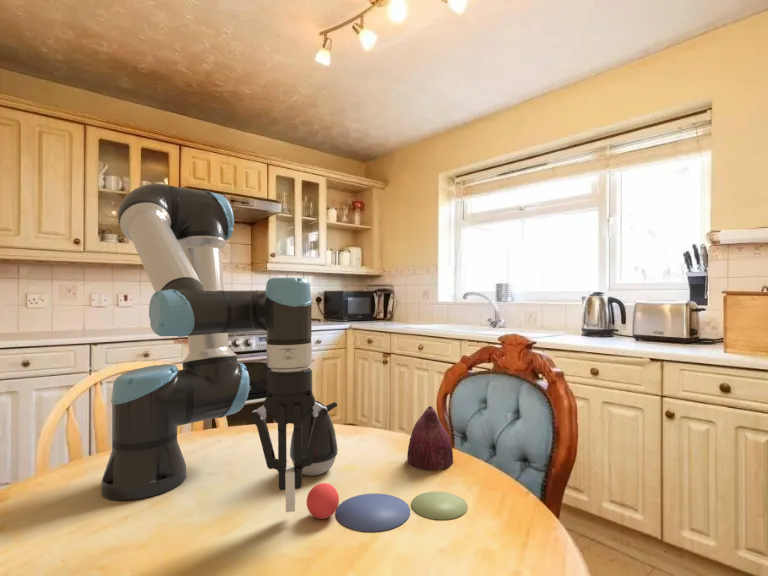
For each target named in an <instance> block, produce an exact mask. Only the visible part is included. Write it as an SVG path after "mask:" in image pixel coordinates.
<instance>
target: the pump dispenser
mask: <svg viewBox="0 0 768 576" xmlns="http://www.w3.org/2000/svg"><path fill="white" fill-rule="evenodd" d="M315 402H317V403H318V404H320V405H322V406H323V405H324V403H323V402H321V401H319V400H316V399H315ZM325 406H326V407H327V415H326V416H325V418H324V420H323V421H322V423H321V427H320V431H319V436H318V440H317V444H316V449H315V453H314V458H313V462H312V465H311V466H306V467H304V468H303V469H302V475H304V476H309V477H310V476H314V477H315V476H319V475H323V474H325V473H326V472H328V471H329V470H330V469H331V468H332V467H333V465H334V463H335V460H336V456H337V455H338V443H337V442H338V441H337V437H336V430H335V426H334V424H333V421H332V418H331V415H330V413H329V412H331V411H332V410H333V409H335V408H336V407H338V402H336V401H334V402H331V403H330V404H326V405H325ZM313 411H314V410H313V408H312V409H311V411H310V412H309V413H308V415H307V416H306V418H305V419H304V420H303V421H302V457H305V456H306V452H307V448H308V444H309V439H310V435H311V430H312V426H313V422H314V418H315V417H314V416H313ZM289 446H290V447H289V457H290V459H291V463H292V466H294V428H293V429H292V434H291V440H290V445H289Z"/></svg>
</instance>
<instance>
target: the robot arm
mask: <svg viewBox="0 0 768 576" xmlns="http://www.w3.org/2000/svg"><path fill="white" fill-rule="evenodd" d="M116 215H117V221H118V225H119V228H120V230H121V233H122V234H123V235H124V237H126V238H127V239H128V240H129V241H131V242H132V244H133V245H134V248H135V250H136V252H137V254H138V257H139V259H140V261H141V264H142V266H143V268H144V270H145V272H146V275H147V277H148V279H149V281H150V284H151V286H152V289H153V290H154V293H153V294H152V296H151V298H150V301H149V304H148V305H149V306H148V317H149V322H150V324H149V325H150V327H151V330H152V332H153V333H154V334H156V335H157V336H159V337H178V338H181V337H183V338H184V337H187V343H188V354H187V355H186V356H185V358H184V359H183V360H182V369H179V368H178V367H177V365H176V364H172V363H170V364H169V363H166V364H165V363H164V364H159V365H158V364H157V365H156V364H155V365H149V366H144V367H140V368H136V369H133V370H130V371H127V372H124V373H122V374H120V375H119V376H117V377H116V378H115V379H114V382H113V384H112V392H111V393H112V394H111V399H110V404H111V424H112V425H111V436H112V437H111V440H112V442H111V453H110V456H109V459H108V462H107V465H106V466H105V470H104V473H103V476H102V479H101V493H100V494H101V496H103V497H104V498H106V499H108V500H112V501H113V500H114V501H133V500H139V499H141V500H142V499H146V498H150V497H153V496H157V495H161V494H164V493H167V492H168V491H171V490H173V489H175V488H177V487H179V486H180V485H181V484H182V483H184V482H185V480H186V479H187V463H186V461H185V458H184V456H183V453H182V450H181V448H180V445H179V442H178V427H179V426H184V425H188V424H193V423H198V422H203V421H207V420H212V419H213V420H214V419H219V418H220V419H222V418H224V417H226V416H230V415H235V414H237V413H238V412H240V411H241V410H242V409H243V408H244V406H245V404H246V402H247V399H248V397H249V392H250V375H249V371H248V370H247V367H246V365H245V364H244V363H242V362H240V361H238V354H236V353H235V352H234V351H232V350H231V348H230V343H229V334H230V333H231V334H232V333H245V332H246V333H247V332H248V333H249V332H266V333H265V334H266V367H267V368H269V370H268V371H267V372H266V397H265V399H264V401H263V405H261V406H259V407H258V408H255V409H253V410H252V412H251V413H250V419H251V421H252V422H253V424H255V426H256V428H257V433H258V436H259V440H260V443H261V448H262V451H263V456H264V459H265V462H266V463H265V464H266V467H267V469H269V470H276V471H277V473H278V490H279V491H285V513H290V512H291V513H292V512H293V513H294V512H296V490H300V489H302V486H303V474H302V469H303V468H304V467H306V466H311V465H312V462H313V458H314V453H315V449H316V444H317V440H318V436H319V431H320V427H321V423H322V421H323V420H324V418H325V416H326V415H327V407H326V406H327V405H324V404H323V406H322V405H320V404H318V403H317V402H315V400H316V399H315V396H314V394H313V370H312V369H311V368H310V366H311V365H312V364H313V358H312V356H313V353H312V352H313V351H312V350H313V349H312V348H313V347H312V346H313V345H312V343H313V342H312V304H313V299H312V295H311V292H312V291H311V282H310V280H309V279H307V278H304V277H271V278H269V279H268V280H267V281H266V285H265V286H266V287H265V290H257V289H254V290H251V289H250V290H225V288H224V278H223V277H224V276H223V275H224V274H223V268H222V267H223V266H222V265H223V264H222V254H221V251H222V250H223V249H224V248H225V246H226V245H227V241H228V240H229V239H230V238H232V235H233V232H234V227H233V226H234V225H235V217H234V211H233V208H232V206H231V204H230V202H229V200H228V199H227V198H226V197H225V196H224V195H222V194H220V193H215V192H211V190H210V191H209V190H203V189H202V190H200V189H193V188H187V187H181V186H174V185H168V184H162V183H149V184H144V185H142V186H138V187H137V188H134V189H133V190H132V191H130V192H129V193H127V194H126V196H124V198H123V199H122V200H121V202H120V204H119V206H118V209H117V214H116ZM312 408H313V410H314V411H313V416H314V417H315V418H314V422H313V426H312V430H311V435H310V439H309V444H308V448H307V452H306V456H305V457H302V421H303V420H304V419H305V418H306V416H307V415H308V413H309V412H310V411H311V409H312ZM267 414H269V415H270V417H271V418H272V419H273V420H274V422H276V424H277V448H278V449H277V458H276V455H275V451H274V446H273V443H272V439H271V435H270V432H269V426H268V425H267V420H266V419H267V417H268V416H267ZM289 424H292V425H293V429H294V465H287V463H288V460H287V456H288V455H287V451H288V450H287V449H288V448H287V425H289Z"/></svg>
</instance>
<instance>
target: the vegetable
mask: <svg viewBox="0 0 768 576" xmlns="http://www.w3.org/2000/svg"><path fill="white" fill-rule="evenodd" d="M436 411H437V410H436V409H435V408H434V407H432V406H431V405H428V407H427V408H426V409H425V410H424V412H423V413H422V415H420V417H419V418H418V420H416V422H415V424H414V427H413V429H412V431H411V435H410V438H409V443H408V448H407V455H406V456H407V458H406V461H407V464H408V466H409V467H412V468H414V469H418V470H422V471H425V472H427V471H428V472H436V471H438V472H439V471H442V470H446V469H449V468H450V467H451V466H452V465H453V464H454V454H453V452H454V451H453V445H452V441H451V437H450V436H449V434H448V432H447V430H446V427H444V425H443V423H442V422H441V421H440V419H439V417H438V413H437V412H436Z"/></svg>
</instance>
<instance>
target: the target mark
mask: <svg viewBox="0 0 768 576" xmlns="http://www.w3.org/2000/svg"><path fill="white" fill-rule="evenodd" d="M410 516H411V508H410V506H409V504H408V503H407V502H406V501H405V500H403V499H401V498H399V497H397V496H394V495H391V494H386V493H385V494H384V493H365V494H364V493H363V494H358V495H355V496H352V497H349V498H347V499H345V500H343V501H342V502H341V503H340V504H338V507H337V510H336V511H335V517H336V520H337V521H338V522H339V523H340V524H341V525H343V526H344V527H346V528H348V529H350V530H354V531H359V532H365V533H376V532H377V533H378V532H386V531H390V530H394V529H395V528H398V527H400V526H402V525H403V524H405V523H406V522H407V521H408V520H409V519H410Z"/></svg>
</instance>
